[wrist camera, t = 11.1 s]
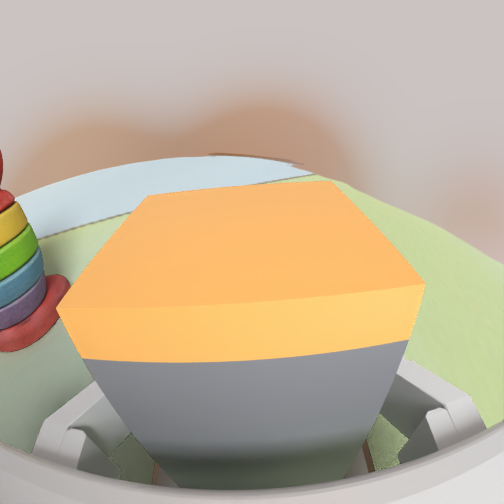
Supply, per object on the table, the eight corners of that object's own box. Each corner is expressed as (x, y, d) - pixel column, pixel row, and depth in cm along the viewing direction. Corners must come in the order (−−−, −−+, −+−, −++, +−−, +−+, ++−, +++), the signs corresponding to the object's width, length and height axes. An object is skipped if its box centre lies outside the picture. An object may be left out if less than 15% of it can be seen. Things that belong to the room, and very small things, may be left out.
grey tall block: (203, 510, 9) (55, 308, 4) (208, 419, 13) (147, 195, 8) (327, 503, 9) (425, 283, 3) (311, 412, 13) (330, 180, 8)
